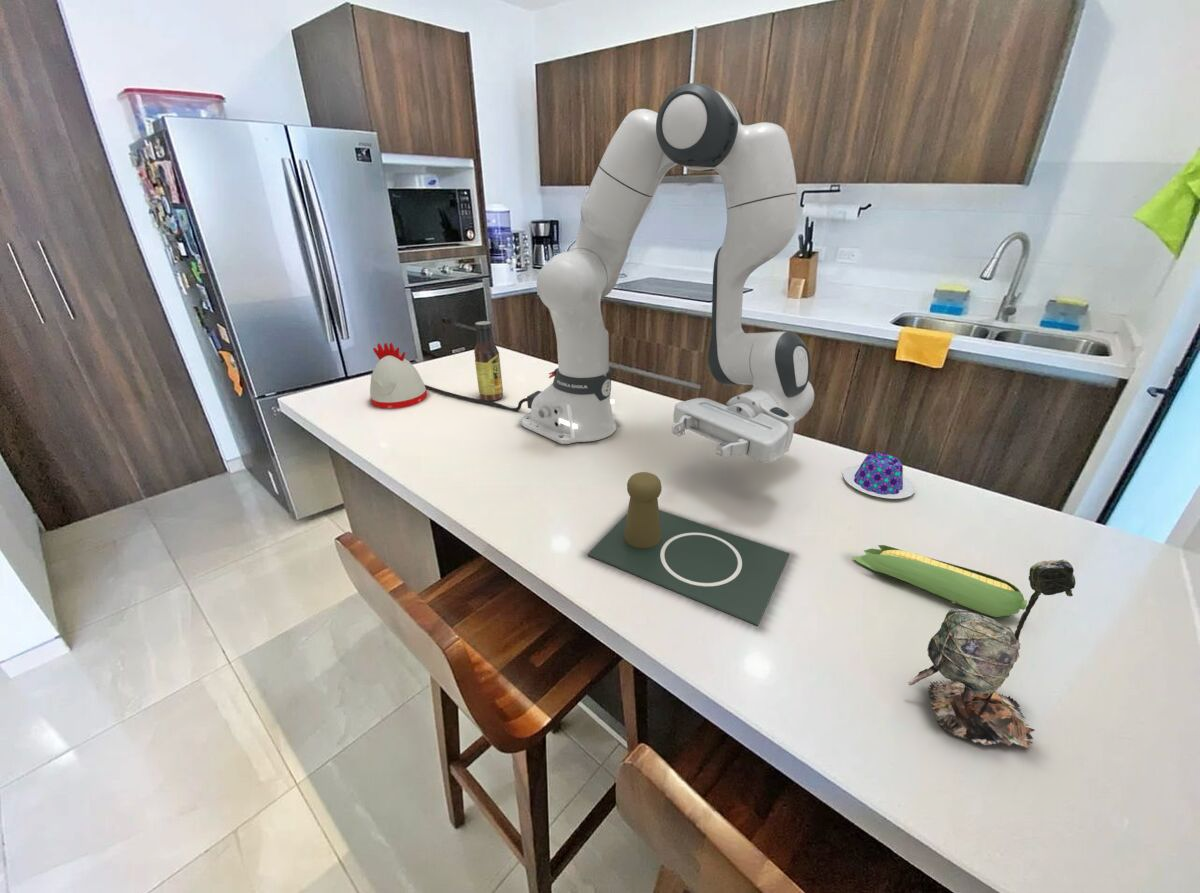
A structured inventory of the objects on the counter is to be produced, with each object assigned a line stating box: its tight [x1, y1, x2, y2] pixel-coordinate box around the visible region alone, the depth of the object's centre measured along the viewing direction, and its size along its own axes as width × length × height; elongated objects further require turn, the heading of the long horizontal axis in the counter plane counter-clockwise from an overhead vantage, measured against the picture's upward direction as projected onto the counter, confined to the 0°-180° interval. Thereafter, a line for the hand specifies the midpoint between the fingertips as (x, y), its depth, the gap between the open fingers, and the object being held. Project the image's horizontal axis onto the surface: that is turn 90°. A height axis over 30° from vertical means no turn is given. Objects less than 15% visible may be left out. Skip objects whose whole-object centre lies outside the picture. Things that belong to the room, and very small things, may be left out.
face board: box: [587, 509, 790, 627], centre depth 75 cm, size 26×16×1 cm, turn 58°
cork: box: [624, 471, 663, 548], centre depth 77 cm, size 6×6×11 cm
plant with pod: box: [907, 559, 1077, 749], centre depth 48 cm, size 8×11×20 cm
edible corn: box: [851, 544, 1028, 618], centre depth 68 cm, size 5×20×5 cm, turn 53°
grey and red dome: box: [369, 342, 428, 409], centre depth 129 cm, size 14×14×15 cm
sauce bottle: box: [473, 320, 504, 402], centre depth 128 cm, size 7×6×20 cm
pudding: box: [842, 452, 916, 500], centre depth 91 cm, size 12×12×5 cm
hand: (696, 440), depth 80 cm, fingers open, 8 cm apart
